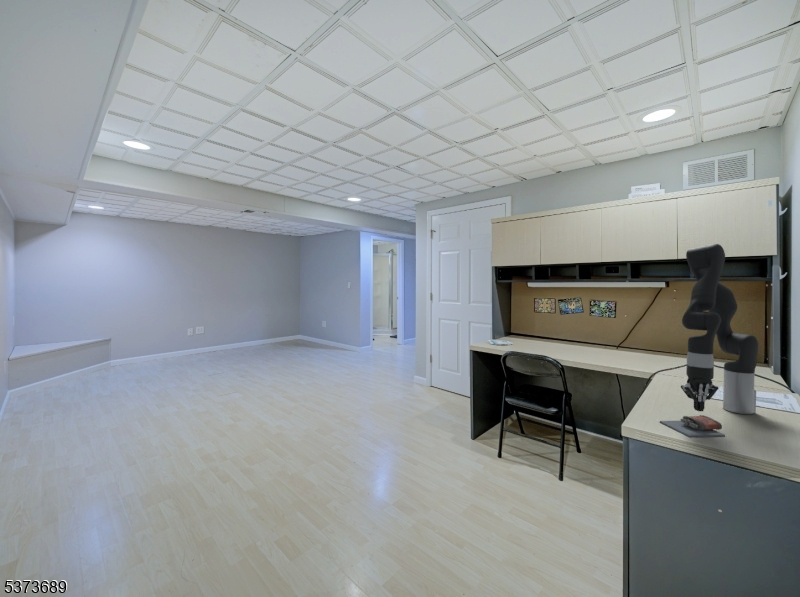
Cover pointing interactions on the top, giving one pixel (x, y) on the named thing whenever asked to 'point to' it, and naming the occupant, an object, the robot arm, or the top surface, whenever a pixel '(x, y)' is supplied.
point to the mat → (691, 430)
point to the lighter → (701, 422)
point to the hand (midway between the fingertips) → (698, 410)
